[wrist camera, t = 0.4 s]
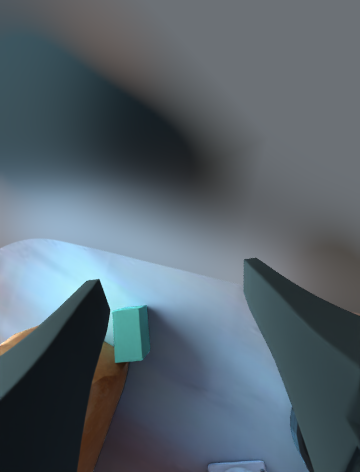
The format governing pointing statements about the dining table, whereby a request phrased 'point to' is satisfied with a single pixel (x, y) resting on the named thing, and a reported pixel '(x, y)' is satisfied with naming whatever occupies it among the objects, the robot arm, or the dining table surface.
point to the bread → (93, 400)
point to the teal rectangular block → (131, 334)
